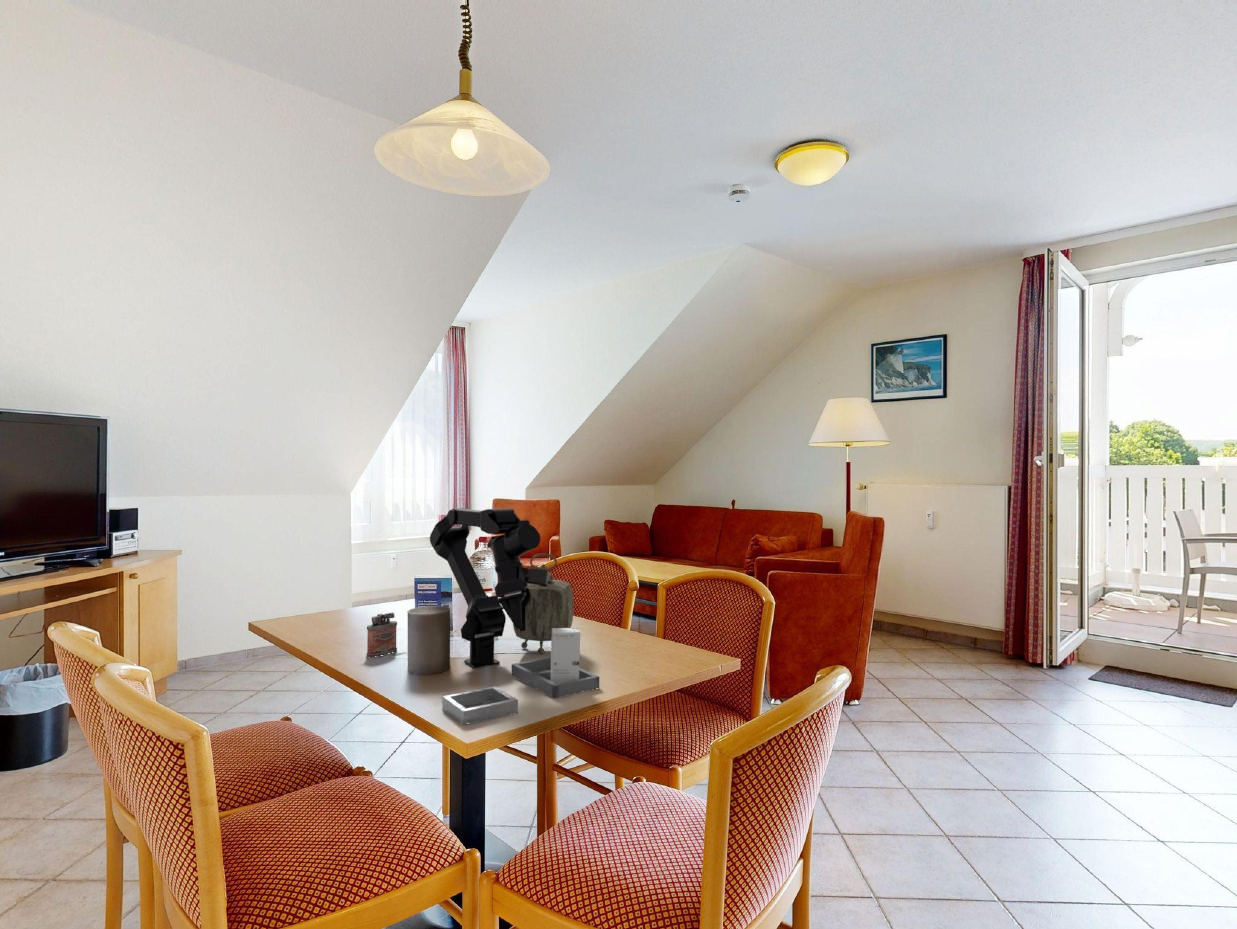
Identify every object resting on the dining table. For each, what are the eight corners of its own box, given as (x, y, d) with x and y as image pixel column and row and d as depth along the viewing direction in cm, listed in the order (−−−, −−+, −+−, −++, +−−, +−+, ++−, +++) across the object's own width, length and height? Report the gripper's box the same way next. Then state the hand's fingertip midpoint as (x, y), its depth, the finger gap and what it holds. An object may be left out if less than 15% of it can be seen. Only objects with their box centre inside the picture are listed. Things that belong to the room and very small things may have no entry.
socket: (442, 709, 131) (442, 696, 131) (494, 698, 137) (495, 686, 137) (463, 725, 123) (463, 711, 123) (517, 713, 129) (518, 699, 129)
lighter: (371, 658, 166) (371, 617, 166) (363, 656, 168) (364, 615, 169) (399, 651, 173) (400, 612, 173) (391, 649, 175) (392, 610, 175)
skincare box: (550, 690, 143) (551, 632, 143) (549, 684, 147) (550, 627, 147) (580, 689, 144) (580, 631, 144) (578, 683, 148) (578, 627, 148)
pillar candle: (458, 664, 161) (458, 601, 162) (436, 676, 152) (436, 608, 152) (421, 662, 164) (421, 599, 164) (398, 673, 155) (398, 606, 155)
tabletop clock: (573, 648, 177) (574, 552, 177) (567, 657, 168) (568, 556, 168) (518, 646, 179) (519, 551, 179) (509, 655, 170) (510, 555, 170)
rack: (511, 675, 153) (511, 664, 153) (553, 667, 160) (553, 656, 160) (554, 698, 138) (554, 685, 138) (599, 688, 144) (599, 676, 144)
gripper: (539, 546, 147) (554, 618, 143) (545, 559, 165) (558, 624, 161) (488, 558, 146) (502, 631, 142) (499, 570, 164) (512, 635, 159)
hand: (521, 630), depth 151 cm, fingers open, 9 cm apart
